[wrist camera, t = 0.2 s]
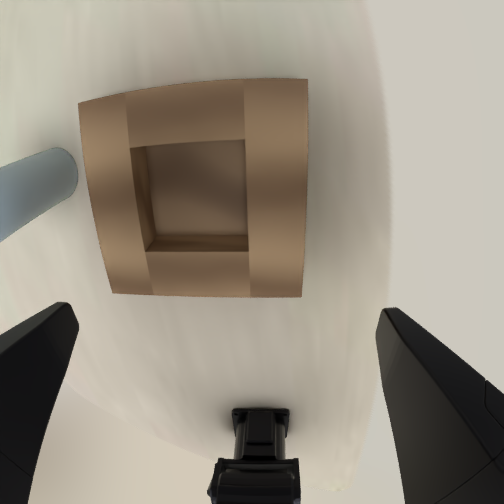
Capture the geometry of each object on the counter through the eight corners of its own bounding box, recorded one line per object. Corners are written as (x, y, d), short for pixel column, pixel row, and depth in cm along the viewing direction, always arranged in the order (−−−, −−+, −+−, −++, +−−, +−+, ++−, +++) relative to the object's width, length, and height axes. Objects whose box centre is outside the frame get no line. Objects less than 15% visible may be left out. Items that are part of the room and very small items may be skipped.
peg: (82, 197, 22) (-46, 294, 9) (43, 201, 22) (-75, 287, 9) (73, 143, 20) (-75, 207, 7) (35, 152, 20) (-99, 215, 7)
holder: (298, 274, 24) (301, 297, 21) (126, 273, 25) (112, 293, 22) (301, 82, 18) (307, 79, 15) (100, 101, 18) (78, 103, 16)
